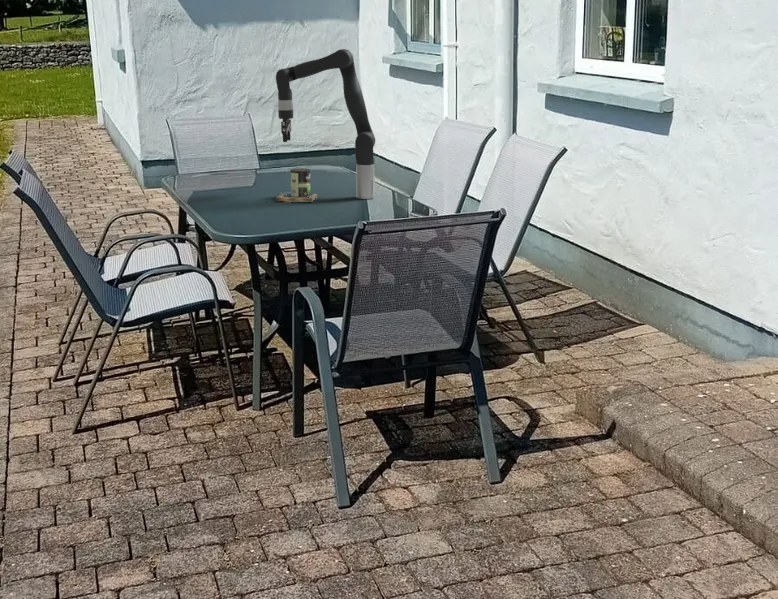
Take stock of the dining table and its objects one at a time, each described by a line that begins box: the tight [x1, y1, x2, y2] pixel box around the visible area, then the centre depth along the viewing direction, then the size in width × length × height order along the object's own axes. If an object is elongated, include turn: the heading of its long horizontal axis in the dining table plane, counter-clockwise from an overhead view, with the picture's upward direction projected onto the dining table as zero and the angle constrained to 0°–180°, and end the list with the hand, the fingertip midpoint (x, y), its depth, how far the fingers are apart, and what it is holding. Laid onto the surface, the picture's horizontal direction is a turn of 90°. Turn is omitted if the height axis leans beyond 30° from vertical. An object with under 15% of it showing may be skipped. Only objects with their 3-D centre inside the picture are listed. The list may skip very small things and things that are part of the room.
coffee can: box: [289, 168, 311, 197], centre depth 502 cm, size 10×10×14 cm
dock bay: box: [275, 192, 318, 202], centre depth 494 cm, size 18×14×2 cm
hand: (286, 141), depth 503 cm, fingers open, 8 cm apart
